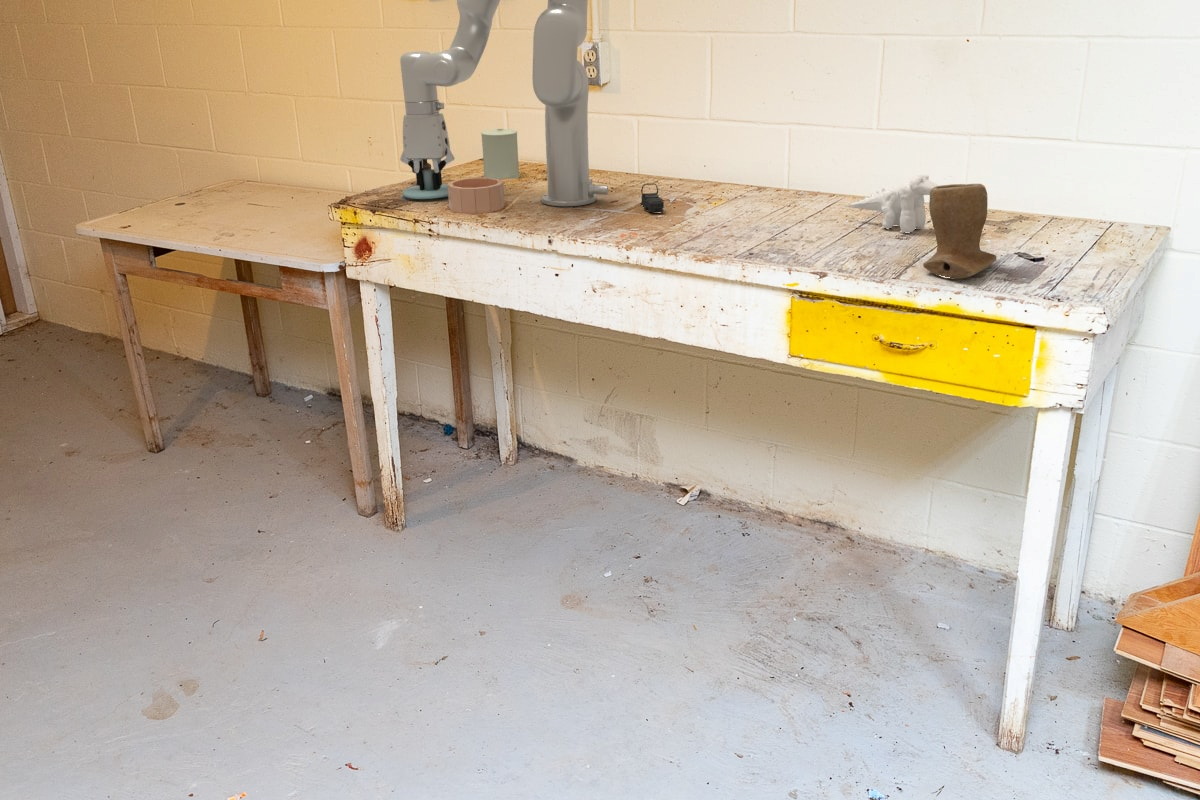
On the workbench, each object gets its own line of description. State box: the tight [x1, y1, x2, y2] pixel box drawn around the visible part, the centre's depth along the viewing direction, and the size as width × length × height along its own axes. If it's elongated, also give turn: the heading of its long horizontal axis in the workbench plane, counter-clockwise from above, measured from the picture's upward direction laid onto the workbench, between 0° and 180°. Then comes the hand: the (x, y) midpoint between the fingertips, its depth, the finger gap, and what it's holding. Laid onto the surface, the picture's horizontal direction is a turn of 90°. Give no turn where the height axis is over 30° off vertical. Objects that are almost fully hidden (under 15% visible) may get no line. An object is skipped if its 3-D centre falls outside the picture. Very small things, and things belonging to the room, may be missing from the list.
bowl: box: [446, 177, 506, 215], centre depth 234 cm, size 12×12×6 cm
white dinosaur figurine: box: [844, 174, 940, 233], centre depth 208 cm, size 7×24×11 cm, turn 45°
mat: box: [397, 195, 449, 202], centre depth 247 cm, size 12×10×1 cm
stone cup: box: [922, 183, 997, 280], centre depth 180 cm, size 15×12×15 cm
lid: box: [402, 168, 448, 199], centre depth 246 cm, size 13×13×5 cm
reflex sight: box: [639, 182, 665, 214], centre depth 230 cm, size 4×10×5 cm, turn 7°
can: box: [480, 128, 521, 180], centre depth 266 cm, size 9×9×12 cm
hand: (430, 188), depth 246 cm, fingers closed on lid, 2 cm apart
